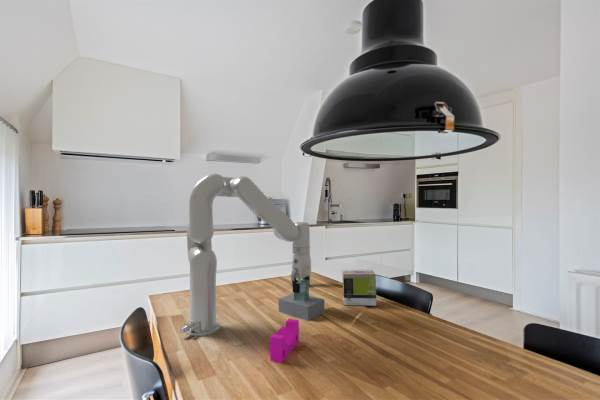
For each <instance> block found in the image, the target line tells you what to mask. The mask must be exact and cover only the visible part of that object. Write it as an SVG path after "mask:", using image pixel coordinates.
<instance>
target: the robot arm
mask: <svg viewBox="0 0 600 400" xmlns="http://www.w3.org/2000/svg"><path fill="white" fill-rule="evenodd" d="M216 197H221V198H223V197H226V198H238V199H239V200H240V201H241V202H242V203H243V204H244V205H245V206H246V207H248V209H249V210H250V211H251V213H252V214H254V215H255V216H256V217H258V218H259V219H261V220H263V222H266V223H268V224H269V225H270V226H271V227H272V228H273V229H272V230H273V234H274V236H275V237H276V238H277V239H279V240H282V241H285V242H292V263H291V264H292V266H291V274H290V278H291V284H292V283H293V286H292V293H300V283H299V281H300V278H303V280H309V288H310V286H311V284H310V283H311V281H310V279H311V274H312V262H311V261H312V260H311V253H310V252H311V251H310V250H311V246H310V245H311V243H310V242H311V238H310V233H311V232H310V231H311V229H310V228H311V227H310V223H309V222H306V221H297V222H294V221H293V220H292V218H290V217H289V216H288V214H286V213H285V211H283V210H282V209H281V208H279V207H278V206H277V205H276V204H275V203H274V202H272V201H271V200H270V199H269V198H268V197H267V196H266V195H265V194H264V192H263V191H262V190H261V189H260V188H259V187H258V186H257V185H256V184H255V182H254V181H252V180H251V178H250V177H248V176H245V175H244V176H238V177H228V176H222V175H221V174H219V173H210V174H208V175H206V176H204V177H203V178H201V179H200V180H199V181H198V182H197V183H196V184H195V185H194V187H193V188H192V190H191V193H190V195H189V200H188V201H189V203H188V205H189V207H188V208H189V209H188V210H189V211H188V212H189V213H188V217H189V218H188V222H189V223H187V227H186V243H187V247H186V248H187V259H188V262H189V307H190V308H189V316H190V317H189V318H190V319H189V320H188V321H187V322H188V323H187V324H186V326H183V327H181V328H180V329H179V332H180V333H181V334H185V333H186V334H187V335H189V336H192V337H203V336H209V335H212V334H214V333H217V332H218V331H220V329H221V323H220V322H219V321H217V264H218V263H217V261H218V260H217V256H216V253H215V252H214V250H213V248H212V247H213V246H212V238H213V237H214V232H215V229H214V217H213V215H214V214H213V205H214V200H215V198H216ZM296 278H298V279H296Z"/></svg>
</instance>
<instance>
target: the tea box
mask: <svg viewBox="0 0 600 400" xmlns="http://www.w3.org/2000/svg"><path fill="white" fill-rule="evenodd" d="M341 272H342V299H343V306H372V307H373V306H377V279H376V278H377V275H376V273H375V272H374V270H373V269H342V271H341Z"/></svg>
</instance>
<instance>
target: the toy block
mask: <svg viewBox="0 0 600 400" xmlns="http://www.w3.org/2000/svg"><path fill="white" fill-rule="evenodd" d="M299 325H300V320H299V319H295V318H294V319H292V318H288V319H287V320H286V321H285V325H284V326H281V327H280V328H279V329H278V330H277V332H276V333H273V334H272V335H270V337H269V340H270V341H269V353H270V355H269V358H270V359H269V360H270V361H271V362H275V363H281V364H282V363H283V362H284V360H285V359H286V358H287V357H288V355H289V354H290V353H291V351H293V349H294V348H295V346H296V345H297V344H298V343H299V341H300V338H299V337H300V335H299V334H300V332H299V331H300V326H299Z"/></svg>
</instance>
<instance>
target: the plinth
mask: <svg viewBox="0 0 600 400" xmlns="http://www.w3.org/2000/svg"><path fill="white" fill-rule="evenodd" d="M278 312H279V313H282V314H286V315H288V316H291V317H295V318H297V319H301V320H304V321H310V320H312V319H315V318H317V317H318V316H320V315H322V314H324V313H325V299H324V298H321V297H316V296H313V295H309V299H307V300H306V301H305V302H302V301H296V300H294V292H292V293H291V294H288V295H286V296H283V297H281V298H278Z"/></svg>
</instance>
